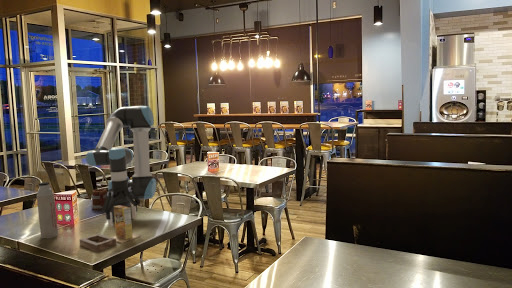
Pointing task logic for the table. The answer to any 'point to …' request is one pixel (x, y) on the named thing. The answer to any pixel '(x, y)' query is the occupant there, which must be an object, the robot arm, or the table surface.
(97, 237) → the collar
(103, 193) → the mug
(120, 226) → the candy box
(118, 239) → the plate
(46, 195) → the thermos bottle
